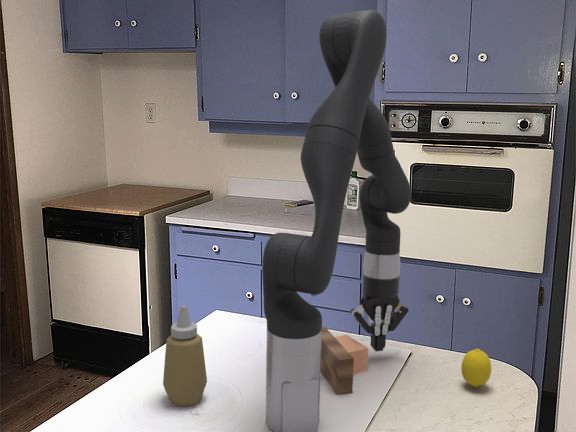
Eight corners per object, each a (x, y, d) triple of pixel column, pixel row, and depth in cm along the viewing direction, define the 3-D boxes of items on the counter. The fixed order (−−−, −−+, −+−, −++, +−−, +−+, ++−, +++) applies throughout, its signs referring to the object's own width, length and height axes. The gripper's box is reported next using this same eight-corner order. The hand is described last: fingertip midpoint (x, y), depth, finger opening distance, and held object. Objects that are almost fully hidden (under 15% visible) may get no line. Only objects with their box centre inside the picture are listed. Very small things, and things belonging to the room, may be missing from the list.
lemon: (494, 387, 119) (497, 349, 117) (481, 397, 115) (484, 357, 113) (468, 377, 123) (471, 340, 121) (454, 387, 119) (457, 349, 117)
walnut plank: (352, 392, 116) (353, 358, 114) (337, 394, 115) (338, 360, 114) (324, 357, 131) (325, 326, 129) (310, 358, 130) (311, 328, 129)
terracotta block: (367, 370, 125) (368, 348, 124) (347, 375, 123) (347, 352, 122) (345, 355, 132) (346, 334, 131) (325, 360, 130) (326, 338, 129)
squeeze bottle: (168, 387, 117) (166, 298, 113) (210, 389, 116) (209, 299, 113) (158, 409, 109) (155, 314, 105) (203, 411, 108) (202, 315, 105)
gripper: (359, 280, 121) (356, 360, 125) (418, 274, 125) (414, 353, 128) (344, 269, 128) (342, 346, 132) (401, 264, 132) (397, 339, 135)
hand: (377, 349), depth 130 cm, fingers closed
